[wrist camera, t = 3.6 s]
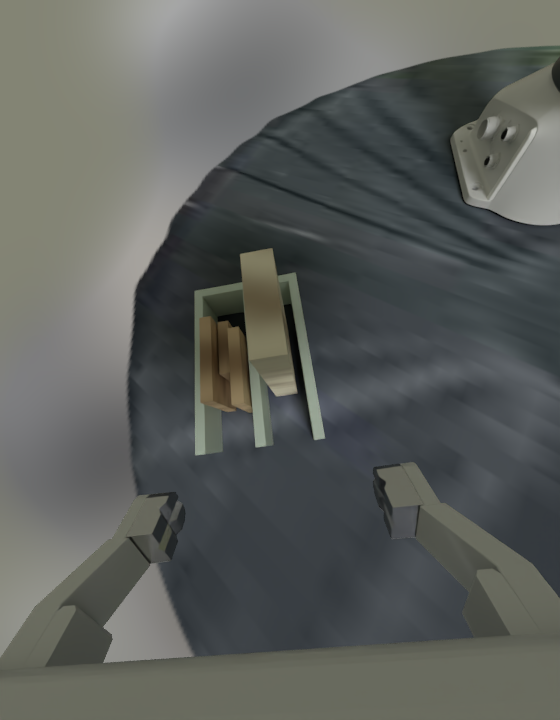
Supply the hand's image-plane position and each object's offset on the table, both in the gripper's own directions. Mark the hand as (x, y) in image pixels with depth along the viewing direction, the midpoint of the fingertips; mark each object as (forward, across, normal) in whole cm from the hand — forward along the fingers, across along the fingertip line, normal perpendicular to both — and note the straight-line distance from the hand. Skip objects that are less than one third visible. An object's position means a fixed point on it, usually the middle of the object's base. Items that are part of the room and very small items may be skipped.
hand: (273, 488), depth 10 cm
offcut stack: (+20, +6, +5) cm, 22 cm away
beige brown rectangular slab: (+21, 0, +4) cm, 21 cm away
